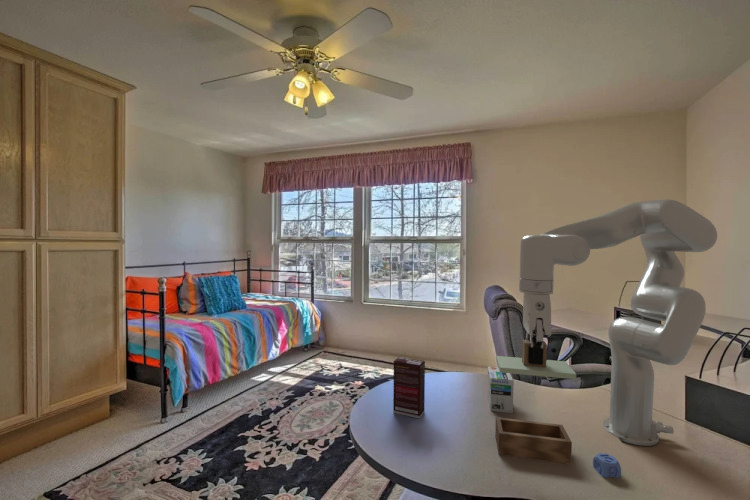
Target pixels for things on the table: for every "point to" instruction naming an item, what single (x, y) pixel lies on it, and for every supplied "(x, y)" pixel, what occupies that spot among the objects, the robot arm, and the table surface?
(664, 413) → the table surface
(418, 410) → the supplement box
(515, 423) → the keepsake box
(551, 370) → the lid
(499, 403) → the light bulb box
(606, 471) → the decorative dice
